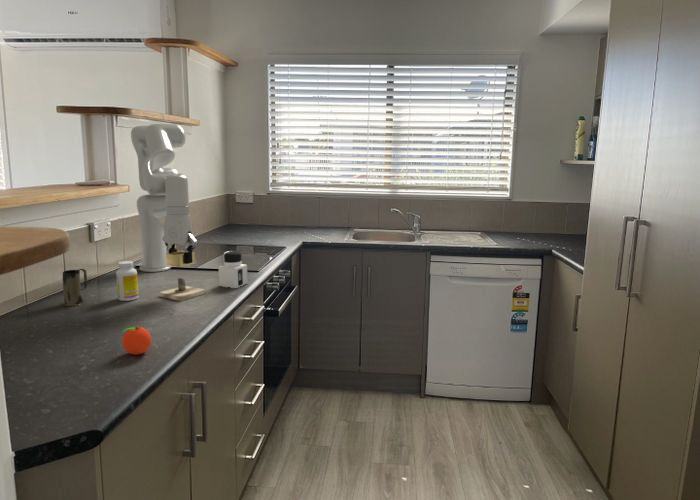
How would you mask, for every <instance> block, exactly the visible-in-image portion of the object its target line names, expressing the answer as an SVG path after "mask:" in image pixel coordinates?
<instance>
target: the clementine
mask: <svg viewBox="0 0 700 500" xmlns="http://www.w3.org/2000/svg"><path fill="white" fill-rule="evenodd" d="M125 331H126V332H125ZM122 332H125V333H124V334H123V337H122V340H121V341H122V342H121V343H122V347H123V349H124V351H126V352H127V353H128V354H131V355H141V354H143V353H145V352H146V351H147V350H149V348H150V347H151V344H152V336H151V335H152V334H150V332H149V330H148V329H146V328H144V327H141V326H135V327H128V328H125V329H124V330H123V331H121V332H120V333H119V335H118V337H120V336H121V334H122Z"/></svg>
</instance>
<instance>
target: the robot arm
mask: <svg viewBox="0 0 700 500" xmlns="http://www.w3.org/2000/svg"><path fill="white" fill-rule="evenodd" d="M130 138H131V143H132V146H133V148H134V150H135V153H136V156H137V161H138V162H137V164H138V165H137V167H138V168H137V169H138V180H139V181H138V182H139V186H140V189H141V190H143V191H146V192H147V193H148V194H143V195H140V196H139V197H138V199H136V209H137V213H138V219H139V224H140V237H141V238H140V239H141V250H142V256H141V258H139V259H138V262H139V263H141V265H140V266H139V268H138V269H139V271H141V272H145V273H146V272H147V273H155V272H163V271H168V270H170V269H171V268H172V266H169V265H166V254H167V251H168V253H172V252H177V251H178V250H177V246H182V248H183V251H185V252H184V263H185V264H189V263H192V262H193V261H192V252H194V249H195V248H196V246H197V244H198V240H197V239H196V238H195V236H194V229H193V221H192V217H191V215H190V214H191V213H190V199H189V195H190V194H189V182H188V181H189V180H188V177H187V175H184V174H183V173H180V172H179V171H178V170H177V169H176V168H173V167H166V166H168V165H170V164H171V163H173V161H174V160H175V156H176V153H175V151H174V149H175V148H182V147H183V146H184V145H185V143H186V133H185V130H184V128H183V127H182V126H181V125H180V124H175V123H174V124H173V123H153V124H150V125H149V124H148V125H138V126H137V125H136V126H134V127H132V129H131V132H130ZM163 217H164V221H163V222H162V221H161V220H159V218H163Z"/></svg>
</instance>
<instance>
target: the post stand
mask: <svg viewBox="0 0 700 500" xmlns="http://www.w3.org/2000/svg"><path fill="white" fill-rule="evenodd" d="M177 284H178V286H176V287H172V288H170V289H169V288H168V289H165V290H162V291H159V292H158V296H159V297H161V298H165V299H169V300H174V301H179V302H182V301H187V300H189V299H193V298H196V297H198V296H202V295H205V294H206V289H203V288H199V287H194V286H188V285H186V277H178V278H177Z"/></svg>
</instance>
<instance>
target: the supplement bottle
mask: <svg viewBox="0 0 700 500" xmlns="http://www.w3.org/2000/svg"><path fill="white" fill-rule="evenodd" d="M117 265H118V268H119V269H117V270H116V271H115V277H116V278H115V279H116V289H117V292H116V293H117V298H118V300H119V301H122V302H123V301H124V302H131V301H135V300H137V299H138V298H139V297H140V296H139V295H140V294H139V282H138V281H139V280H138V272H137V268H134V261H133V260H123V261H118V263H117Z"/></svg>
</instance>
